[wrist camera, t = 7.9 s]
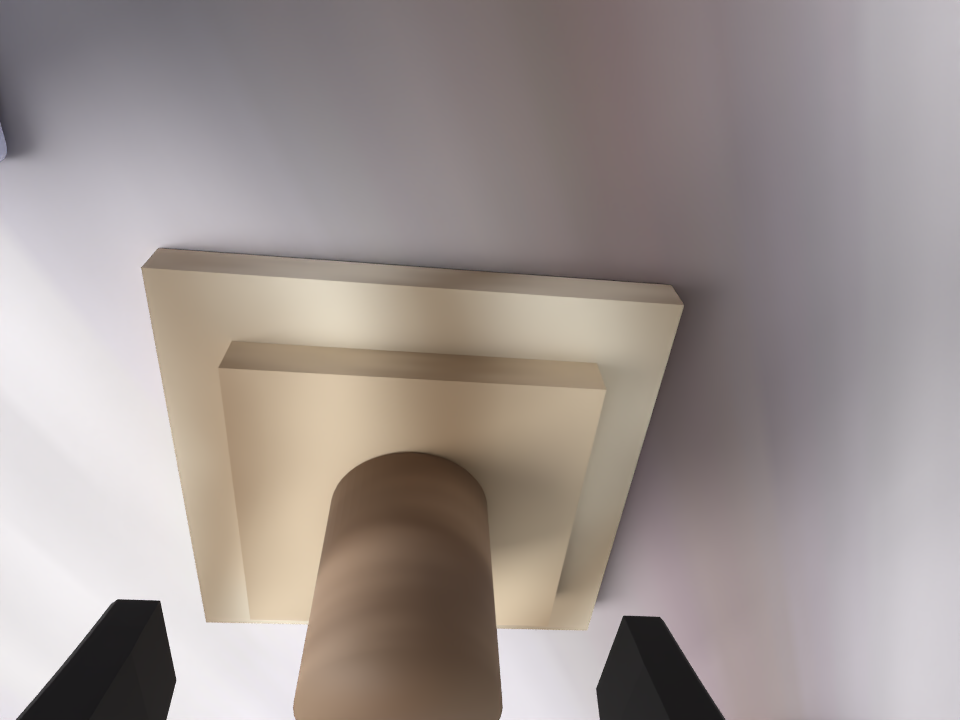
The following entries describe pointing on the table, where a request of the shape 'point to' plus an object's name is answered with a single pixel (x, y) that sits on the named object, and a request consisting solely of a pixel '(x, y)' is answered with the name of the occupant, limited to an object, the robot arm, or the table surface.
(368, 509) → the walnut cylinder
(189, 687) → the table surface
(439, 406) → the pedestal
